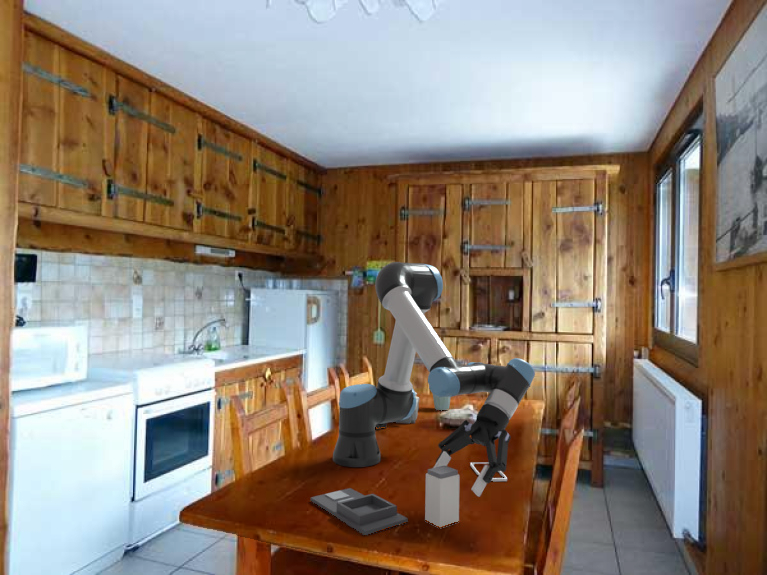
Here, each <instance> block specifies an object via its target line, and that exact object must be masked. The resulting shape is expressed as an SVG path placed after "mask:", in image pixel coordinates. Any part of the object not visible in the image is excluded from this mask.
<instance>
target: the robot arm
mask: <svg viewBox="0 0 767 575" xmlns="http://www.w3.org/2000/svg"><path fill="white" fill-rule="evenodd" d="M375 278H376V279H375V283H374V284H375V286H374V287H375V292H376V296H377V299H378V300H379V301H378V302H380V304H381V306H382V307H383V308H384V309H385V310H387V311H390V313H391V315H392V316H393V318H394V319H395V323H394V328H393V332H392V337H391V341H390V347H389V351H388V354H387V359H386V360H387V361H386V366H385V370H384V374H383V375H382V376H380V377H378V380H377V385H374V384H371V383H362V384H353V385H349V386H346V387H344V388H343V389H342V390H340V393H339V401H338V410H339V412H338V419H339V420H338V436H337V437H338V438H337V439H336V440H337V441H336V443H335V446H334V449H333V451H332V462H335V465H336V464H337V465H338V466H341V467H347V468H348V467H349V468H366V467H371V466H375V465H378V464H379V463H380V462H381V450H380V448H379V444H378V439H377V437H376V430H375V426H376V424H382V423H387V424H388V423H393V422H398V421H401V420H404V419H407V418H409V417H410V416H411V415H412V414H413V412H414V410H415V408H416V403H417V399H416V398H415V395H416V394H415V392H416V391H415V389H414V388H413V387H414V385H413V384H412V382H411V380H410V379H411V376H412V371H413V367H414V362H415V359H416V358H415V357H416V354H417V355H418V356H419V359H420V360H421V362H422V363H423V365H424V366H425V368H426V369H427V371H428V373H429V374H428V376H427V383H428V389H429V390H430V392H431V393H432V395H433V394H434V395H436V396H438V397H451V398H453V397H455V396H460V395H461V396H462V395H469V394H470V395H471V394H476V393H489V394H488V396H487V397H486V398H485V400H484V404H483V405H481V407H480V408H479V410H478V412H477V414H476V419H475V421H474V422H473V423H471V422H469V420H467V419H465V420H463V422H462V423H461V425H459V426H458V428H456V429H455V430H454V431H453V432H451V433H450V434H449V435H448V436H446V438H444V439H442V441H440V442H439V443H438V445H437V446H438V448H439V449H440V450H441V452H440V454H439V455H438V457H437V459H435V465H434V466H433V467H432V468H435V467H440V466H444V465H445V466H448V464H449V463H450V461H451V459H452V457H451V456H452V455H453V454H456V453H457V452H458V451H460V450H462V449H464V448H466V447H468V446H469V445H475V444H476V445H481V446H483V447H485V450H486V455H487V461H488V462H489V464H484V465H483V468H482V470H481V471H480V472H479V473H480V475H478V476H477V478H476V480H475V482H474V483H473V485H472V487H471V491H472V492H473V493H474V494H475V495H476V496H477V497H478V498H479V497H481V496H482V494H483V491H484V489H485V488H486V487H487V484H490V483H491V480H492V478H494V476H495V475H496V473H499V472H498V471H501V472H502V473H504V472H506V471H507V463H508V449H509V443H510V440H511V438H512V436H511V435H510V434H509V432H508V431H507V430H506V428H507V426H508V425H509V423H510V420H511V419H512V417H513V415H514V414H515V412H516V410H517V408H518V407H519V405H520V403H521V401H522V399H523V398H524V396H525V395H526V393H527V391H528V390H529V388H530V387H531V385H532V382H533V380H534V378H535V376H536V371H535V369H534V368H533V366H532V365H531V364H530V363H529V362H527V361H526V360H525V359H522V358H517V357H515V358H511V359H510V360H509V361H508V362H507V363H506V365H495V364H490V363H484V362H479V361H478V362H474V361H472V362H471V361H470V362H469V363H467V364H466V365H459V364H458V362H457V361H456V359H455V358H454V357H453V355H452V354H451V352H450V351H449V349H448V348H447V347H446V345H445V344H444V342H443V340H442V339H441V338H440V336H439V334H438V333H437V332H436V330H435V328H434V327H433V326H432V324H431V323H430V321H428V319H427V317H426V316H425V314H426V312H429V311H430V310H431V308H432V305H433V304H432V303H433V302H434V301H436V300H438V298H440V297H441V295H442V292H443V290H444V283H443V282H444V280H443V278H442V275H441V273H440V271H439V270H438V269H437V267H435V266H433V265H430V264H427V263H421V262H420V263H419V262H402V261H394V262H390V263H388V264H386V265H384V266H383V267H382V268H381V269H380V270H379V272H378V273H377V275H376V277H375ZM416 396H417V395H416ZM497 440H498V443H497V451H496V444H495V441H497ZM496 452H497V453H496Z"/></svg>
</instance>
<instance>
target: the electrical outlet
mask: <svg viewBox="0 0 767 575" xmlns="http://www.w3.org/2000/svg"><path fill="white" fill-rule="evenodd" d="M415 394H416V395H415V398H416V399H417V403H416V408H415V410H414V412H413V414H412V415H411V416H410V417H409V418H407V419H404V420H401V421H398V422H396V423H395V424H410V423H411V424H416V421H417V418H418V413H419V412H418V411H419V407H420V406H419V403H420V397H419V396H417V395H418V393H417V392H416V391H415Z"/></svg>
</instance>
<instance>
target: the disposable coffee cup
mask: <svg viewBox="0 0 767 575" xmlns="http://www.w3.org/2000/svg"><path fill="white" fill-rule="evenodd" d="M451 398H452V397H438V396H436V395H434V394H433V393H432V400H433V405H434V410H435V409H436V410H435V411H437V410H441V411H440V412H443V411H442V410H447V409H450V404H451ZM447 411H448V410H447Z"/></svg>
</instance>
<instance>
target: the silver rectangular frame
mask: <svg viewBox="0 0 767 575" xmlns="http://www.w3.org/2000/svg"><path fill="white" fill-rule="evenodd" d="M469 463H470V464H469V465H470V467H471V468H472V470H473V471H474V473H475V474H476V475H478V476H479V475H480V473H481V472H479V470H477V468H476V467H475V464H477V465H479V464H482V465H488V464H489V462H469ZM497 473H499V475H500V476H502V477H493V478H492V480H491V481H493V482H507V481H508V477H507V476H506V475H505V474H504V472H502V471H498V472H497ZM503 477H504V478H503Z"/></svg>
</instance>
